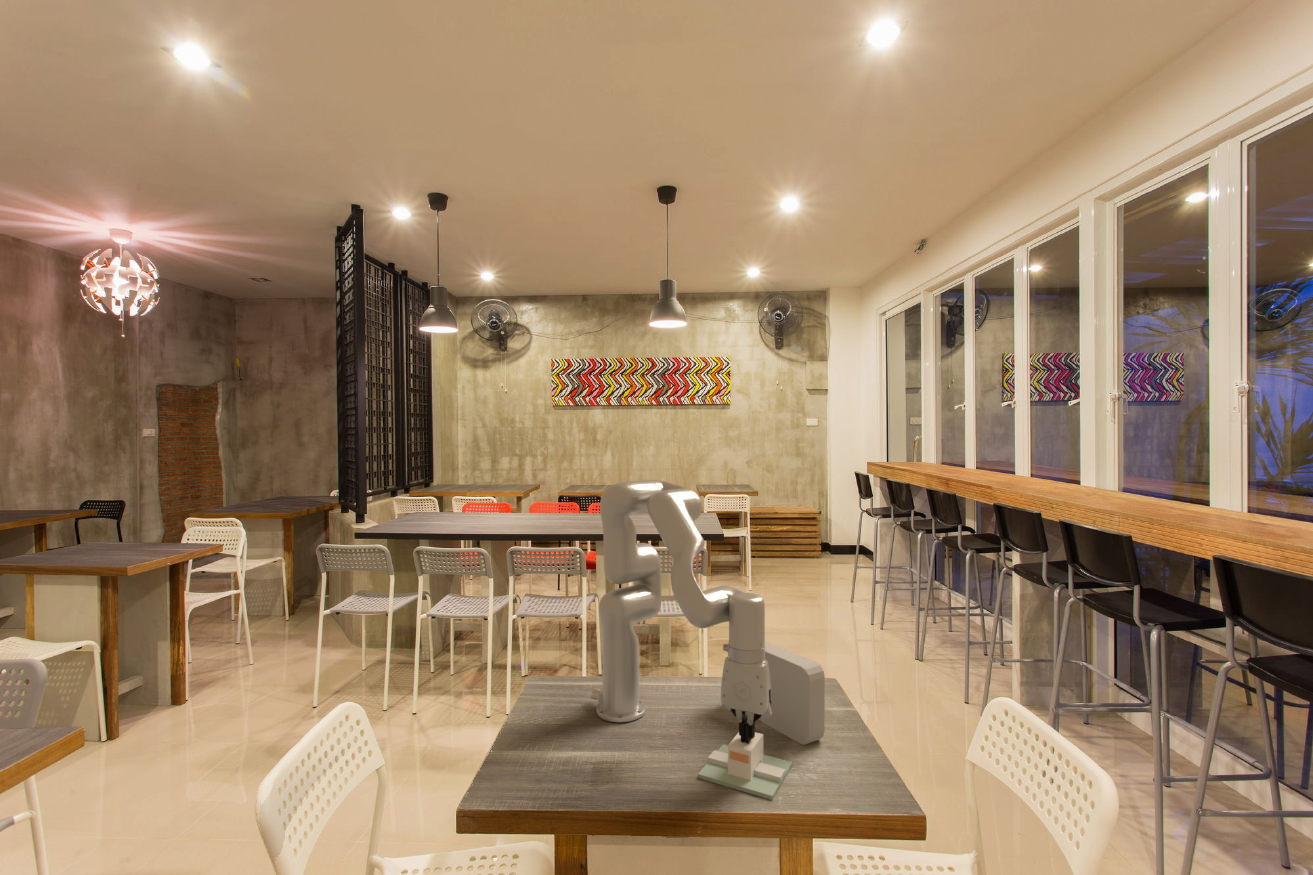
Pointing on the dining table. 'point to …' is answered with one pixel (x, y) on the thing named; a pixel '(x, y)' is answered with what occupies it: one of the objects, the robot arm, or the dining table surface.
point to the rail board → (762, 783)
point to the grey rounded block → (796, 695)
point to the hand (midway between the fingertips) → (746, 739)
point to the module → (745, 756)
